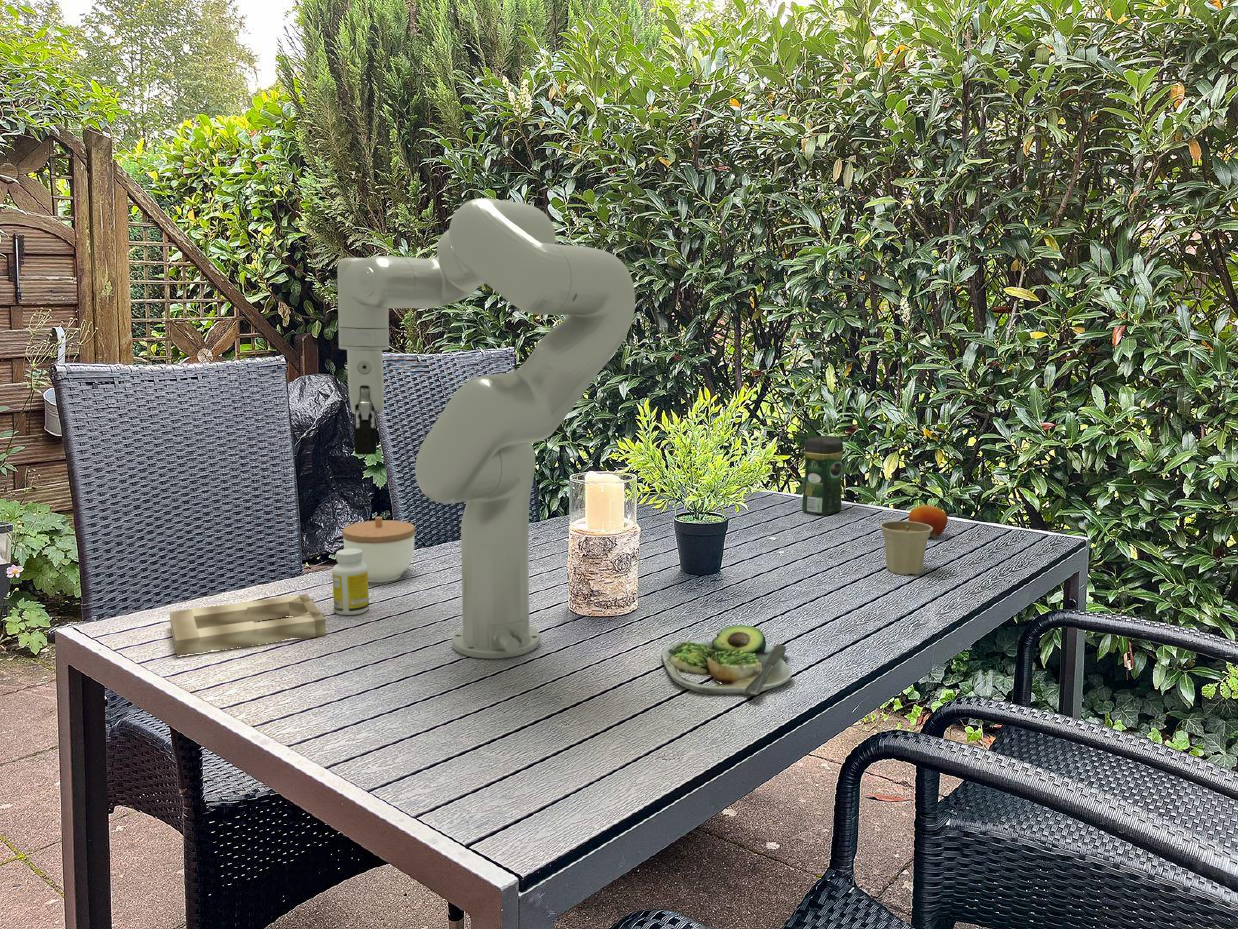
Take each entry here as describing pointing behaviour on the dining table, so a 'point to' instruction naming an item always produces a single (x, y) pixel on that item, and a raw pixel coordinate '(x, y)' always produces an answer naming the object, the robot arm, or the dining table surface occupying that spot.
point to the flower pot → (905, 545)
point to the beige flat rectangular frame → (245, 624)
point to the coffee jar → (822, 475)
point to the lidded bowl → (382, 547)
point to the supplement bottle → (350, 583)
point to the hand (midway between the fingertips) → (365, 448)
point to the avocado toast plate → (729, 662)
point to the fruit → (930, 518)
